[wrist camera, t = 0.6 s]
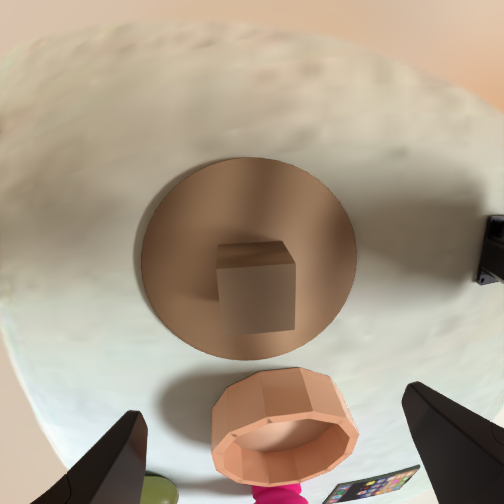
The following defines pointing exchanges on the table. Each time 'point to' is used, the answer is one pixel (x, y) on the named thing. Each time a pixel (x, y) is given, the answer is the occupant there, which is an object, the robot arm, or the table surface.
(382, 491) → the smartphone
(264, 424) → the terracotta bowl
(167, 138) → the table surface
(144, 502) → the pear
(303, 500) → the pepper mill
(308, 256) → the walnut lid
